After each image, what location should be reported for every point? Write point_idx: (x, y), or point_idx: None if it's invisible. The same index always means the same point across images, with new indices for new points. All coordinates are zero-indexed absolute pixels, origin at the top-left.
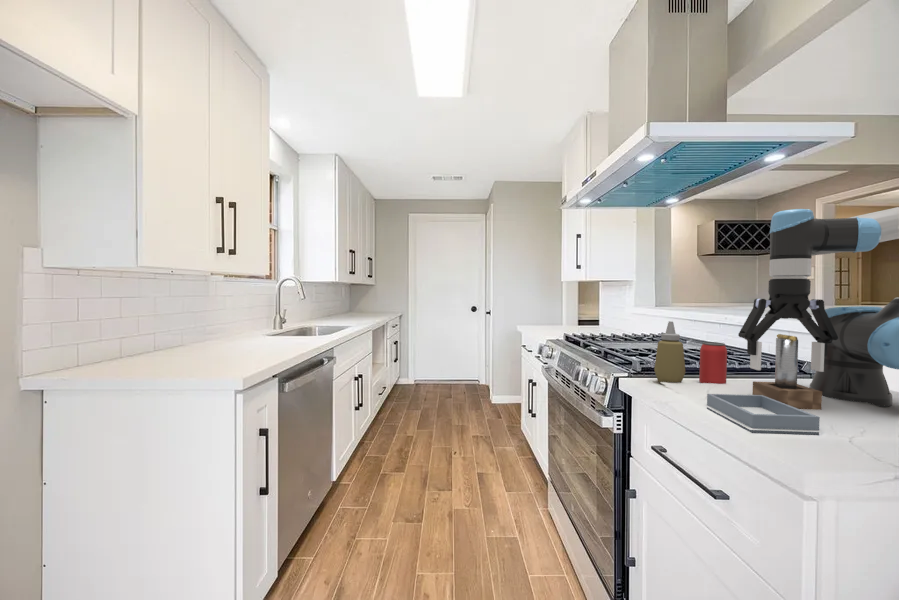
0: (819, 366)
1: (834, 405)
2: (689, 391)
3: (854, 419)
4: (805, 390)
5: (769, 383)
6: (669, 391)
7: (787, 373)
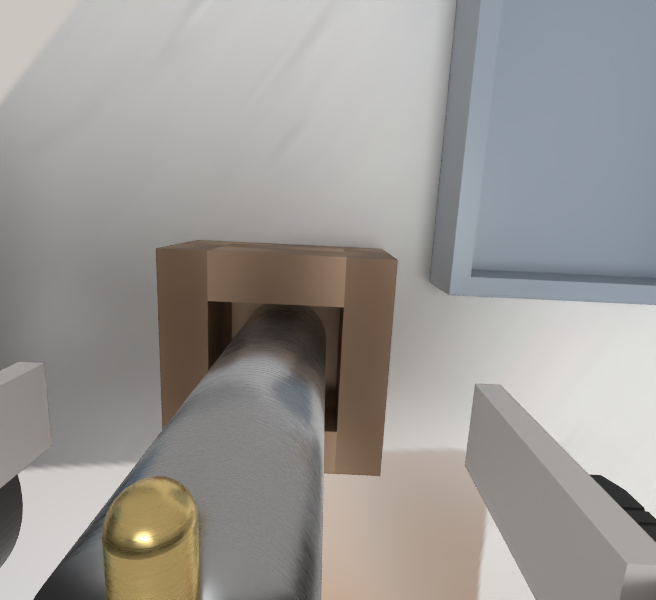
0: (16, 384)
1: None
2: None
3: (109, 167)
4: (234, 271)
5: None
6: None
7: (291, 355)
